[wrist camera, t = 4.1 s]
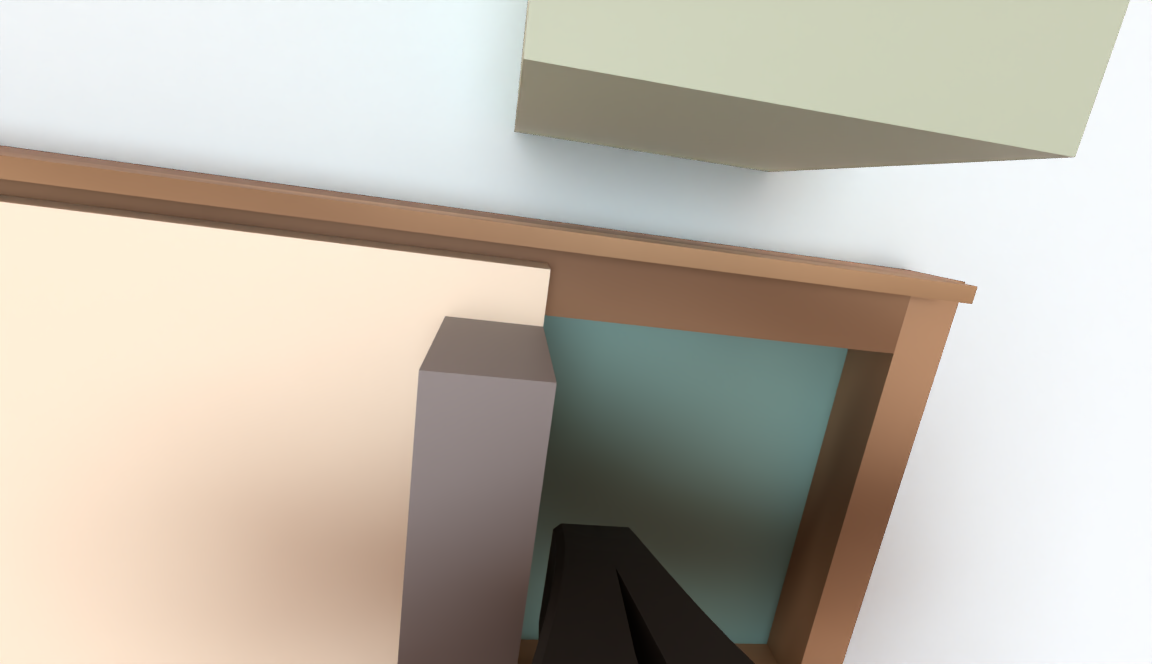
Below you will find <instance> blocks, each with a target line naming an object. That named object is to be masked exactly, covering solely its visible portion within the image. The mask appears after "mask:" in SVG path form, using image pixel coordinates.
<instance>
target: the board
mask: <svg viewBox="0 0 1152 664" xmlns="http://www.w3.org/2000/svg"><path fill="white" fill-rule="evenodd" d="M0 195H6V196H14V197H22V198H30V199H38V200H46V201H54V202H62V203H70V204H78V205H86V206H94V207H102V208H110V209H118V210H126V211H134V212H142V213H150V214H158V215H166V216H174V217H182V218H190V219H198V220H206V221H214V222H222V223H230V224H238V225H246V226H254V227H262V228H270V229H278V230H286V231H294V232H302V233H310V234H318V235H326V236H334V237H342V238H350V239H358V240H366V241H374V242H382V243H390V244H398V245H406V246H414V247H422V248H430V249H438V250H446V251H454V252H462V253H470V254H478V255H486V256H494V257H502V258H510V259H518V260H526V261H534V262H542V263H548V265H549V267H550V269H551V270H550V278H549V286H548V293H547V301H546V309H545V316H544V324H543V328H544V332H545V336H546V340H547V344H548V349H549V353H550V357H551V361H552V365H553V369H554V373H555V378H556V382H557V385H556V392H555V399H554V406H553V413H552V420H551V428H550V435H549V442H548V449H547V456H546V463H545V471H544V478H543V485H542V492H541V499H540V506H539V514H538V521H537V528H536V535H535V542H534V549H533V556H532V564H531V571H530V578H529V585H528V592H527V599H526V607H525V614H524V621H523V628H522V635H521V642H520V650H519V657H518V664H532V661H533V657H534V654H535V651H536V647H537V644H538V638H539V616H540V610H541V604H542V597H543V591H544V584H545V578H546V571H547V565H548V559H549V552H550V546H551V539H552V533H553V529H554V528H555V527H557V526H558V525H559V524H561V523H564V524H582V525H599V526H617V527H629V528H630V529H631V530H632V531H633V532H634V533H635V535H636V536H637V537H638V538H639V539H640V540H641V541H642V543H643V544H644V545H645V546H646V547H647V548H648V549H649V551H650V552H651V553H652V554H653V555H654V556H655V558H656V559H657V560H658V561H659V562H660V563H661V565H662V566H663V567H664V568H665V569H666V570H667V571H668V573H669V574H670V575H671V576H672V577H673V578H674V579H675V581H676V582H677V583H678V584H679V585H680V586H681V587H682V588H683V590H684V591H685V592H686V593H687V594H688V595H689V596H690V597H691V598H692V599H693V601H694V602H695V603H696V604H697V605H698V606H699V607H700V608H701V609H702V610H703V611H704V613H705V614H706V615H707V616H708V617H709V618H710V619H711V620H712V621H713V622H714V623H715V624H716V625H717V626H718V627H719V628H720V629H721V630H722V631H723V632H724V633H725V634H726V635H727V637H728V638H729V639H730V640H731V641H732V642H733V643H734V644H735V645H736V646H737V647H739V648H740V649H741V650H742V651H743V652H744V653H745V654H746V655H747V656H748V657H749V658H750V659H751V660H752V661H753V662H754V663H755V664H843V661H844V658H845V654H846V651H847V648H848V645H849V642H850V639H851V636H852V633H853V629H854V626H855V623H856V620H857V617H858V614H859V611H860V608H861V605H862V601H863V598H864V595H865V592H866V589H867V586H868V583H869V580H870V577H871V573H872V570H873V567H874V564H875V561H876V558H877V555H878V552H879V549H880V545H881V542H882V539H883V536H884V533H885V530H886V527H887V524H888V521H889V517H890V514H891V511H892V508H893V505H894V502H895V499H896V496H897V493H898V489H899V486H900V483H901V480H902V477H903V474H904V471H905V468H906V465H907V461H908V458H909V455H910V452H911V449H912V446H913V443H914V440H915V437H916V433H917V430H918V427H919V424H920V421H921V418H922V415H923V412H924V409H925V405H926V402H927V399H928V396H929V393H930V390H931V387H932V384H933V380H934V377H935V374H936V371H937V368H938V365H939V362H940V359H941V356H942V352H943V349H944V346H945V343H946V340H947V337H948V334H949V331H950V328H951V324H952V321H953V318H954V315H955V312H956V309H957V306H958V303H959V302H961V303H969V304H972V302H973V299H974V296H975V293H976V290H977V286H972V285H967V284H965V282H962V281H958V280H953V279H948V278H944V277H939V276H934V275H930V274H925V273H920V272H915V271H911V270H905V269H898V268H890V267H883V266H876V265H869V264H861V263H854V262H847V261H839V260H832V259H825V258H817V257H810V256H803V255H796V254H788V253H781V252H774V251H766V250H759V249H752V248H744V247H737V246H730V245H723V244H715V243H708V242H701V241H693V240H686V239H679V238H671V237H664V236H657V235H650V234H642V233H635V232H628V231H620V230H613V229H606V228H598V227H591V226H584V225H577V224H569V223H562V222H555V221H547V220H540V219H533V218H525V217H518V216H511V215H504V214H496V213H489V212H482V211H474V210H467V209H460V208H453V207H445V206H438V205H431V204H423V203H416V202H409V201H401V200H394V199H387V198H380V197H372V196H365V195H358V194H350V193H343V192H336V191H328V190H321V189H314V188H307V187H299V186H292V185H285V184H277V183H270V182H263V181H255V180H248V179H241V178H234V177H226V176H219V175H212V174H204V173H197V172H190V171H182V170H175V169H168V168H161V167H153V166H146V165H139V164H131V163H124V162H117V161H109V160H102V159H95V158H88V157H80V156H73V155H66V154H58V153H51V152H44V151H36V150H29V149H22V148H15V147H7V146H0Z"/></svg>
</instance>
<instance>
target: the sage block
mask: <svg viewBox="0 0 1152 664" xmlns="http://www.w3.org/2000/svg"><path fill="white" fill-rule="evenodd" d="M1129 1H1130V0H528V4H527V13H526V23H525V33H524V42H523V52H522V62H521V71H520V81H519V91H518V100H517V110H516V120H515V129H514V132H520V133H526V134H533V135H539V136H545V137H552V138H558V139H564V140H571V141H577V142H583V143H590V144H596V145H603V146H609V147H615V148H622V149H628V150H634V151H641V152H647V153H653V154H660V155H666V156H672V157H679V158H685V159H692V160H698V161H704V162H711V163H717V164H723V165H730V166H736V167H742V168H749V169H755V170H762V171H768V172H775V171H796V170H817V169H838V168H859V167H880V166H901V165H921V164H942V163H963V162H984V161H1005V160H1026V159H1047V158H1068V157H1075V156H1076V153H1077V150H1078V147H1079V144H1080V141H1081V139H1082V136H1083V133H1084V130H1085V127H1086V124H1087V121H1088V119H1089V116H1090V113H1091V110H1092V107H1093V104H1094V101H1095V99H1096V96H1097V93H1098V90H1099V87H1100V84H1101V81H1102V79H1103V76H1104V73H1105V70H1106V67H1107V64H1108V61H1109V59H1110V56H1111V53H1112V50H1113V47H1114V44H1115V41H1116V39H1117V36H1118V33H1119V30H1120V27H1121V24H1122V21H1123V19H1124V16H1125V13H1126V10H1127V7H1128V4H1129Z"/></svg>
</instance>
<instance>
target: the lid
mask: <svg viewBox="0 0 1152 664" xmlns="http://www.w3.org/2000/svg"><path fill="white" fill-rule="evenodd" d="M550 270H551V269H550V267H549V265H548V263H542V262H534V261H526V260H518V259H510V258H502V257H494V256H486V255H478V254H470V253H462V252H454V251H446V250H438V249H430V248H422V247H414V246H406V245H398V244H390V243H382V242H374V241H366V240H358V239H350V238H342V237H334V236H326V235H318V234H310V233H302V232H294V231H286V230H278V229H270V228H262V227H254V226H246V225H238V224H230V223H222V222H214V221H206V220H198V219H190V218H182V217H174V216H166V215H158V214H150V213H142V212H134V211H126V210H118V209H110V208H102V207H94V206H86V205H78V204H70V203H62V202H54V201H46V200H38V199H30V198H22V197H14V196H6V195H0V664H518V657H519V650H520V642H521V635H522V628H523V621H524V614H525V607H526V599H527V592H528V585H529V578H530V571H531V564H532V556H533V549H534V542H535V535H536V528H537V521H538V514H539V506H540V499H541V492H542V485H543V478H544V471H545V463H546V456H547V449H548V442H549V435H550V428H551V420H552V413H553V406H554V399H555V392H556V385H557V382H556V378H555V373H554V369H553V365H552V361H551V357H550V353H549V349H548V344H547V340H546V336H545V332H544V328H543V324H544V316H545V309H546V301H547V293H548V286H549V278H550Z"/></svg>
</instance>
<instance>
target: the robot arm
mask: <svg viewBox="0 0 1152 664" xmlns="http://www.w3.org/2000/svg"><path fill="white" fill-rule="evenodd" d="M532 664H755V663H754V662H753V661H752V660H751V659H750V658H749V657H748V656H747V655H746V654H745V653H744V652H743V651H742V650H741V649H740V648H739V647H737V646H736V645H735V644H734V643H733V642H732V641H731V640H730V639H729V638H728V637H727V635H726V634H725V633H724V632H723V631H722V630H721V629H720V628H719V627H718V626H717V625H716V624H715V623H714V622H713V621H712V620H711V619H710V618H709V617H708V616H707V615H706V614H705V613H704V611H703V610H702V609H701V608H700V607H699V606H698V605H697V604H696V603H695V602H694V601H693V599H692V598H691V597H690V596H689V595H688V594H687V593H686V592H685V591H684V590H683V588H682V587H681V586H680V585H679V584H678V583H677V582H676V581H675V579H674V578H673V577H672V576H671V575H670V574H669V573H668V571H667V570H666V569H665V568H664V567H663V566H662V565H661V563H660V562H659V561H658V560H657V559H656V558H655V556H654V555H653V554H652V553H651V552H650V551H649V549H648V548H647V547H646V546H645V545H644V544H643V543H642V541H641V540H640V539H639V538H638V537H637V536H636V535H635V533H634V532H633V531H632V530H631V529H630V528H629V527H617V526H599V525H582V524H564V523H561V524H559V525H558V526H557V527H555V528H554V529H553V533H552V539H551V546H550V552H549V559H548V565H547V571H546V578H545V584H544V591H543V597H542V604H541V610H540V616H539V638H538V644H537V647H536V651H535V654H534V657H533V661H532Z"/></svg>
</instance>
